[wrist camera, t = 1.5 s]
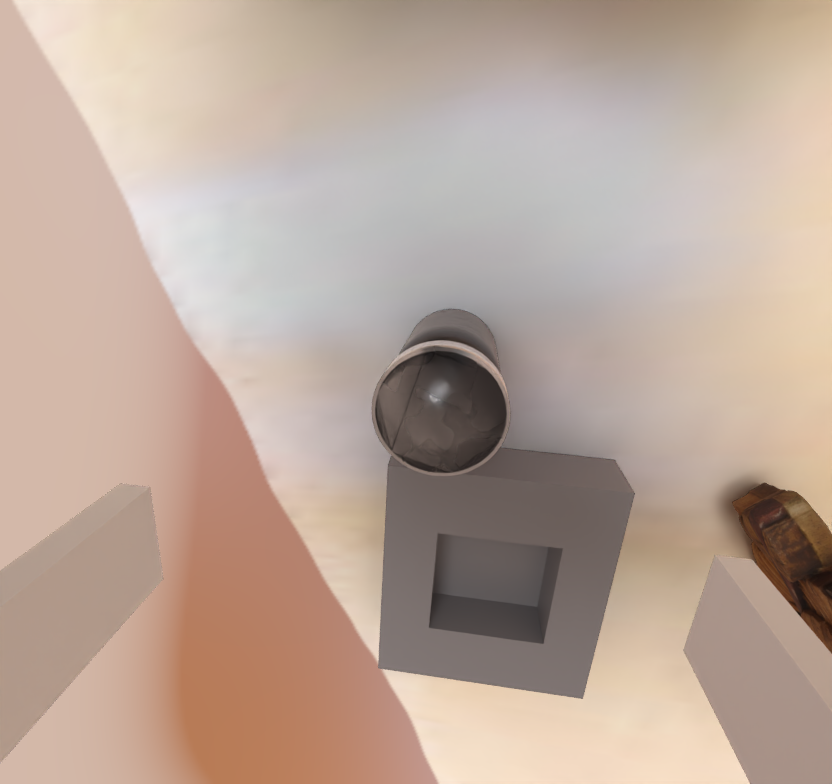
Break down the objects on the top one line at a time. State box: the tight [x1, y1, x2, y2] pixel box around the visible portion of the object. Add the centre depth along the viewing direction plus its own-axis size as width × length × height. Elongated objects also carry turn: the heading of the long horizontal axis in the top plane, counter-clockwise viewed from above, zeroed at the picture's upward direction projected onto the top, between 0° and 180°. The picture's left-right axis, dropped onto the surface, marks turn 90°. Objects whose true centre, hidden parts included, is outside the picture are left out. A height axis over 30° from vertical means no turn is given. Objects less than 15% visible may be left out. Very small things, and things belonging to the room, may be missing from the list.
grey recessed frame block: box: [378, 448, 635, 699], centre depth 32 cm, size 16×14×4 cm
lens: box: [372, 309, 511, 476], centre depth 24 cm, size 6×6×10 cm
